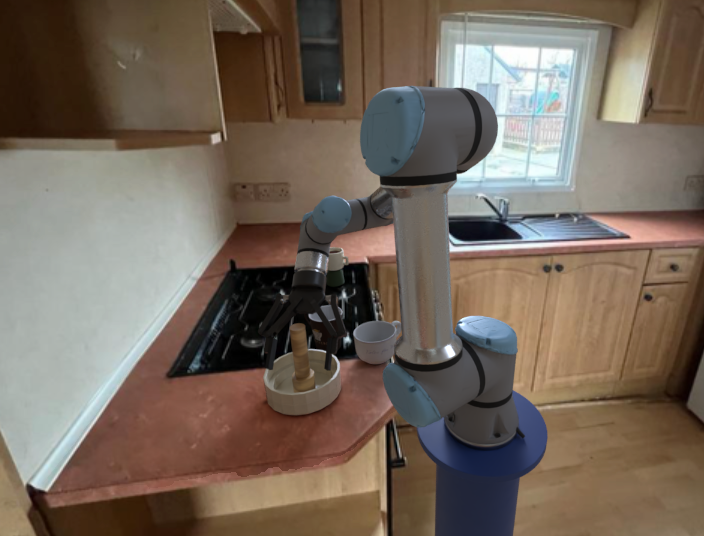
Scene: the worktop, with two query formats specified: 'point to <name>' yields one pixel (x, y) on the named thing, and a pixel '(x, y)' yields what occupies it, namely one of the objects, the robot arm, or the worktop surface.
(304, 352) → the wooden masher
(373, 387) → the worktop surface
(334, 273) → the character mug
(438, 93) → the robot arm
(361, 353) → the teacup
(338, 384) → the mixing bowl
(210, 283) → the worktop surface
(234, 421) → the worktop surface
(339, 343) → the coffee mug
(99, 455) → the worktop surface
